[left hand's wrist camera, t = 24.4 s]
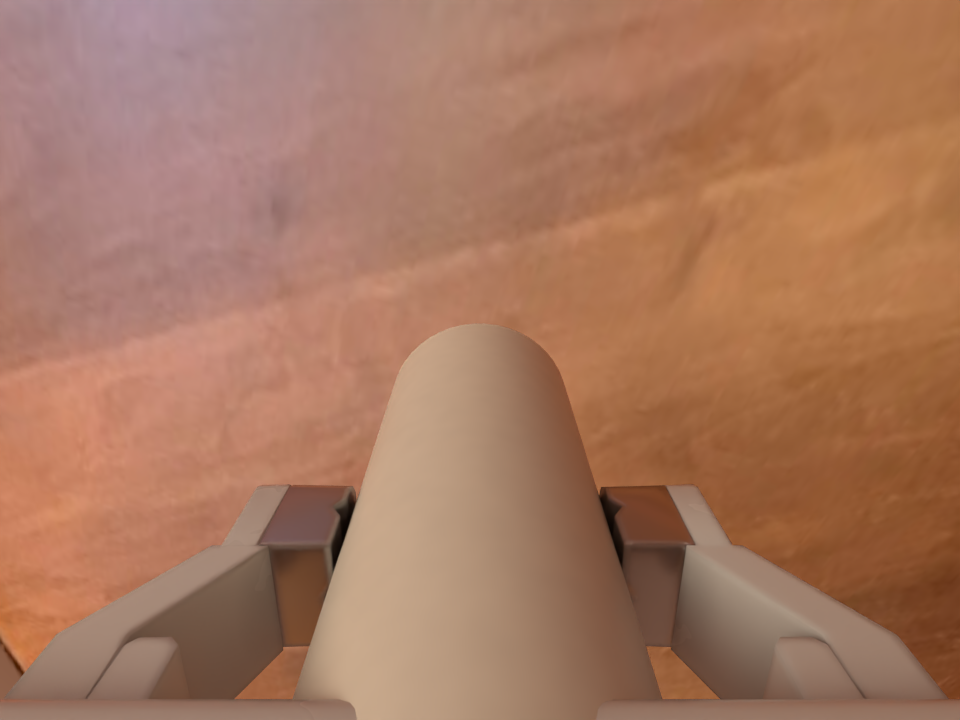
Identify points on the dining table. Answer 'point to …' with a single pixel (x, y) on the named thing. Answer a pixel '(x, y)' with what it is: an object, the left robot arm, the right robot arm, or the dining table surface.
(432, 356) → the canister
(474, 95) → the dining table surface
